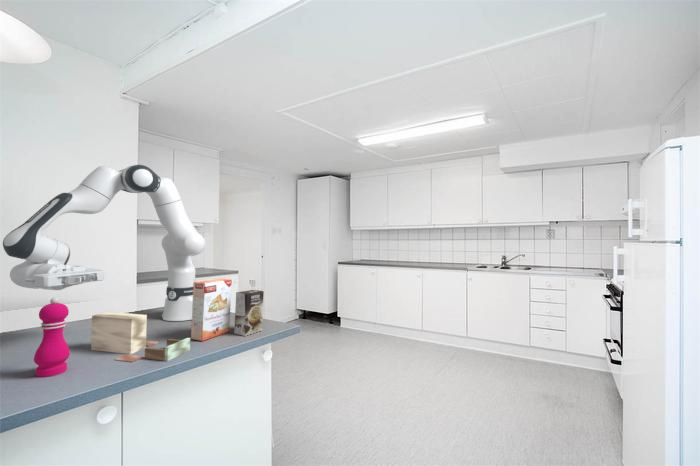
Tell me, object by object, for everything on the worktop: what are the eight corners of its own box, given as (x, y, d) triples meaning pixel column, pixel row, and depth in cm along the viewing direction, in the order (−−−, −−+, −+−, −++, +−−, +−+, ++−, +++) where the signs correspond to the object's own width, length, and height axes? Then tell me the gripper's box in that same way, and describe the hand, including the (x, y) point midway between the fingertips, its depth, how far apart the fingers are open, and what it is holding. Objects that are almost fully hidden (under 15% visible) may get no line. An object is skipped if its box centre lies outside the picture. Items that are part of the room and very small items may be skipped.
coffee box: (245, 336, 126) (246, 293, 126) (233, 333, 129) (235, 291, 129) (263, 331, 134) (264, 290, 134) (251, 328, 137) (252, 289, 137)
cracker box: (202, 342, 118) (204, 282, 118) (190, 339, 120) (192, 281, 121) (230, 332, 131) (232, 278, 131) (218, 330, 133) (220, 277, 134)
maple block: (107, 344, 113) (109, 311, 114) (145, 348, 110) (146, 314, 111) (90, 349, 107) (92, 315, 108) (130, 354, 104) (131, 319, 105)
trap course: (143, 341, 117) (144, 329, 117) (196, 346, 113) (197, 334, 113) (98, 358, 100) (98, 344, 100) (158, 365, 96) (159, 351, 96)
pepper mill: (67, 374, 89) (70, 298, 89) (30, 380, 84) (33, 301, 85) (70, 365, 94) (73, 294, 95) (35, 370, 90) (38, 296, 91)
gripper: (21, 270, 104) (57, 272, 102) (85, 265, 124) (116, 267, 122) (20, 290, 104) (56, 293, 102) (84, 282, 124) (115, 284, 122)
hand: (89, 279), depth 112 cm, fingers open, 4 cm apart
